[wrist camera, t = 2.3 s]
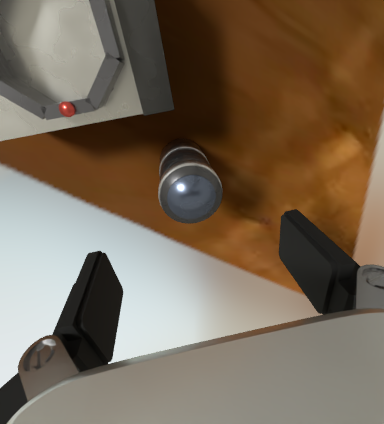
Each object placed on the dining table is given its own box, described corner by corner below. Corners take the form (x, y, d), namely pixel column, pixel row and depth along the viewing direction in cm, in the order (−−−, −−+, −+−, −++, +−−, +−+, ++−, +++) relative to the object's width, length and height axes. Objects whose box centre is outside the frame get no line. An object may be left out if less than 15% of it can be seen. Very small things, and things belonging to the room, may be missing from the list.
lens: (201, 133, 21) (221, 160, 14) (206, 177, 23) (226, 218, 16) (153, 142, 21) (150, 174, 14) (164, 185, 23) (166, 231, 16)
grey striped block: (142, -53, 14) (129, -147, 8) (171, 101, 19) (176, 113, 13) (-43, -20, 14) (-198, -92, 8) (33, 127, 19) (-26, 151, 13)
